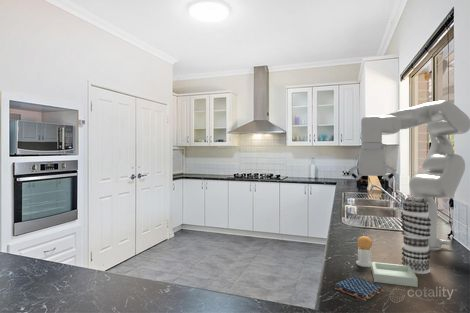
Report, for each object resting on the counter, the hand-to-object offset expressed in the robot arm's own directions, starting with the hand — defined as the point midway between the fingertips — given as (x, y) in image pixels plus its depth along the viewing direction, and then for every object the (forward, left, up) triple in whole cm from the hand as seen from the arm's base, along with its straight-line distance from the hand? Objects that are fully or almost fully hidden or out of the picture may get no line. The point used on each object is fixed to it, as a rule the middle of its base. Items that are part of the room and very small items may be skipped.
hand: (372, 190), depth 126 cm
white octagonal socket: (+4, +13, -26) cm, 29 cm away
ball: (+4, +13, -21) cm, 24 cm away
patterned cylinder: (-13, +12, -26) cm, 32 cm away
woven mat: (+7, +37, -27) cm, 46 cm away
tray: (-4, +23, -26) cm, 35 cm away
